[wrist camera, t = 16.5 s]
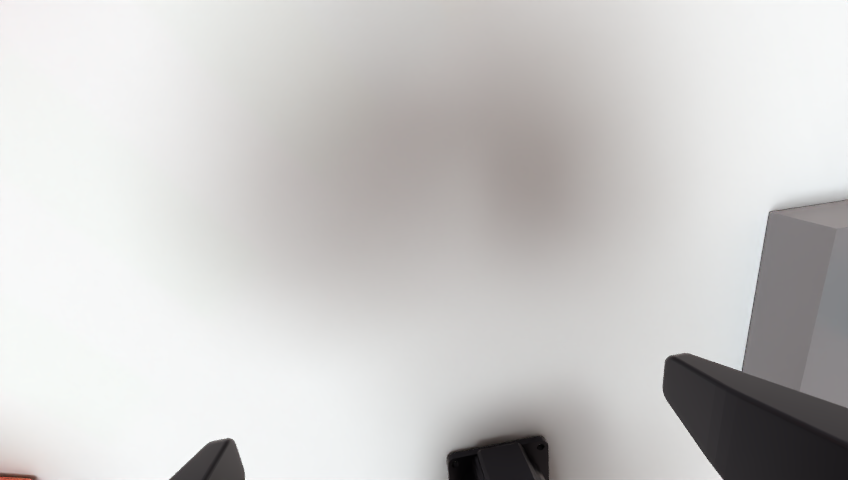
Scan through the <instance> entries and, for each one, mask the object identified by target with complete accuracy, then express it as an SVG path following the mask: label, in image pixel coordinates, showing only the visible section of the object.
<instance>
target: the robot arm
mask: <svg viewBox="0 0 848 480" xmlns="http://www.w3.org/2000/svg"><path fill="white" fill-rule="evenodd" d="M663 393H664V396H665V398H666V400H667V401H668V403H669V404H670V406H671V407H672V409H673V410H674V411H675V413H676V414H677V416H678V417H679V419H680V420H681V422H682V423H683V424H684V426H685V427H686V429H687V430H688V432H689V433H690V435H691V436H692V437H693V439H694V440H695V442H696V443H697V445H698V446H699V447H700V449H701V450H702V452H703V453H704V455H705V456H706V457H707V459H708V460H709V462H710V463H711V464H712V466H713V467H714V468H715V470H716V471H717V472H718V473H719V475H720V476H721V477H722V478H723V480H848V408H846V407H844V406H841V405H838V404H835V403H832V402H829V401H826V400H823V399H820V398H817V397H814V396H811V395H809V394H806V393H803V392H800V391H797V390H794V389H791V388H788V387H785V386H782V385H779V384H776V383H773V382H771V381H768V380H765V379H762V378H759V377H756V376H753V375H750V374H747V373H744V372H741V371H738V370H736V369H733V368H730V367H727V366H724V365H721V364H718V363H715V362H712V361H709V360H706V359H703V358H701V357H698V356H695V355H692V354H688V353H682V354H677V355H671V356H669V357H667V359H666V360H665V367H664V377H663ZM539 444H540V445H539ZM455 461H457V462H455ZM447 468H448V476H449V480H549V466H548V443H547V441H546V440H545V438H544V437H542V436H536V437H531V438H526V439H521V440H516V441H511V442H506V443H501V444H496V445H491V446H486V447H481V448H476V449H471V450H466V451H461V452H456V453H452V454H450V455H449V456H448V457H447ZM169 480H245V472H244V468H243V465H242V462H241V458H240V455H239V452H238V449H237V446H236V444H235V442H234V440H233V439H230V438H227V439H221V440H216V441H212V442H209V443H208V444H207V445H205V446H204V447H203V448H202V449H201V450H200V451H199V452H198V453H197V454H196V455H195V456H194V457H193V458H192V459H191V460H189V461H188V462H187V463H186V464H185V465H184V466H183V467H182V468H181V469H180V470H179V471H178V472H177V473H176V474H175V475H174V476H173V477H171V478H170V479H169Z"/></svg>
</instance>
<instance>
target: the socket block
mask: <svg viewBox="0 0 848 480" xmlns="http://www.w3.org/2000/svg"><path fill="white" fill-rule="evenodd" d="M742 372H744V373H747V374H750V375H753V376H756V377H759V378H762V379H765V380H768V381H771V382H773V383H776V384H779V385H782V386H785V387H788V388H791V389H794V390H797V391H800V392H803V393H806V394H809V395H811V396H814V397H817V398H820V399H823V400H826V401H829V402H832V403H835V404H838V405H841V406H844V407H846V408H848V200H844V201H838V202H831V203H825V204H818V205H812V206H805V207H799V208H792V209H786V210H779V211H773V212H770V213H769V218H768V224H767V230H766V236H765V242H764V248H763V253H762V259H761V265H760V271H759V277H758V282H757V288H756V294H755V300H754V306H753V312H752V317H751V323H750V329H749V335H748V341H747V347H746V352H745V358H744V364H743V370H742Z"/></svg>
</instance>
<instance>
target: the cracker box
mask: <svg viewBox="0 0 848 480" xmlns="http://www.w3.org/2000/svg"><path fill="white" fill-rule="evenodd" d="M0 480H32V479H29V478H13V477H0Z"/></svg>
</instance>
